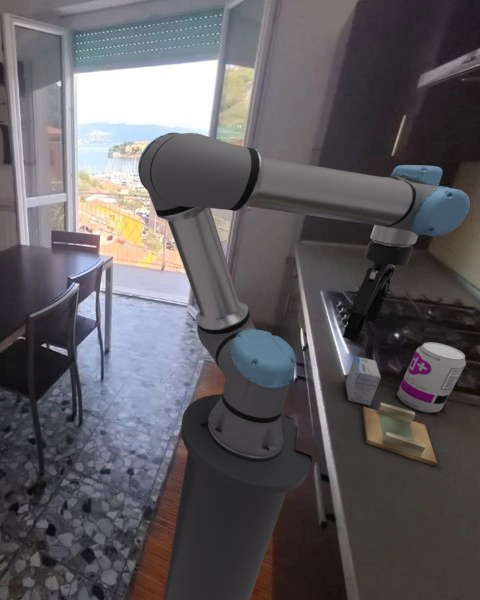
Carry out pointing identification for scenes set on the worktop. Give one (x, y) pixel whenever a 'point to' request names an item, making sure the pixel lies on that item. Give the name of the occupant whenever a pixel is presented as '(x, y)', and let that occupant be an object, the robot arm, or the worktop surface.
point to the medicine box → (362, 380)
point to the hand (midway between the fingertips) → (359, 329)
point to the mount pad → (398, 433)
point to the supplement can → (431, 377)
